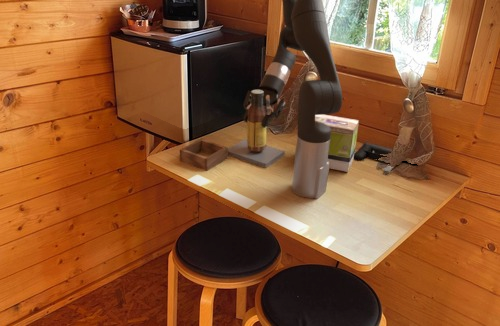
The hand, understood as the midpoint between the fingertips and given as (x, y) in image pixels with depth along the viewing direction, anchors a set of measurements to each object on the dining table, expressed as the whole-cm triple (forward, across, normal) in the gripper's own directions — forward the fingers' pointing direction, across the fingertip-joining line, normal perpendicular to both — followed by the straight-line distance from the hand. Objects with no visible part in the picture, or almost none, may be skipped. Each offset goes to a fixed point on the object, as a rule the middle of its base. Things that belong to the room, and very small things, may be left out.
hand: (254, 123), depth 156 cm
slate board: (+7, 0, +9) cm, 12 cm away
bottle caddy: (+17, -11, 0) cm, 20 cm away
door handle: (-8, +37, +26) cm, 46 cm away
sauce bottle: (+6, 0, +8) cm, 10 cm away
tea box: (0, +22, +17) cm, 28 cm away
